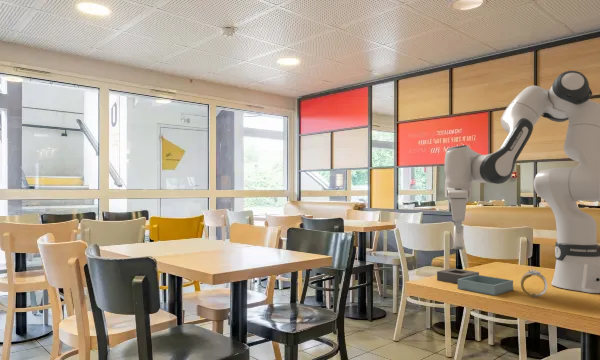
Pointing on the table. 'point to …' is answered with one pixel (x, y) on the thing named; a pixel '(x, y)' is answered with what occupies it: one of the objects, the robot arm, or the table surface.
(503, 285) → the tray
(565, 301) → the table surface
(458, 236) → the cylinder
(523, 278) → the ring
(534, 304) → the table surface
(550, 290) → the table surface
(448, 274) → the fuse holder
